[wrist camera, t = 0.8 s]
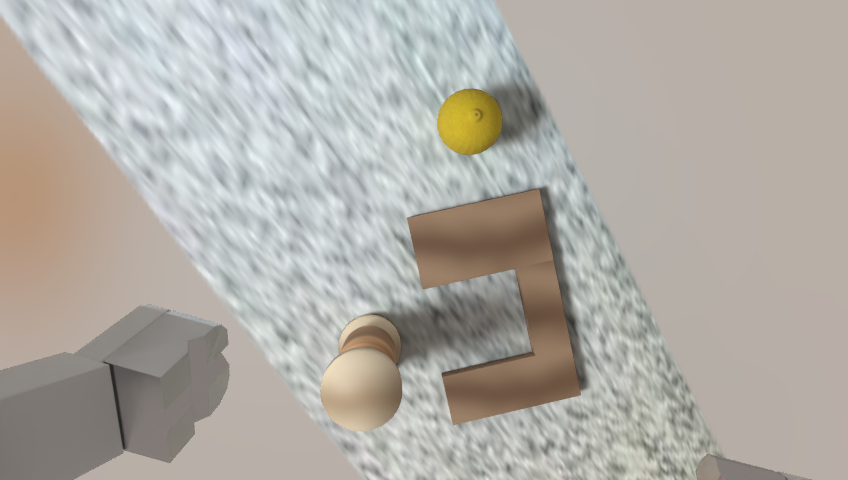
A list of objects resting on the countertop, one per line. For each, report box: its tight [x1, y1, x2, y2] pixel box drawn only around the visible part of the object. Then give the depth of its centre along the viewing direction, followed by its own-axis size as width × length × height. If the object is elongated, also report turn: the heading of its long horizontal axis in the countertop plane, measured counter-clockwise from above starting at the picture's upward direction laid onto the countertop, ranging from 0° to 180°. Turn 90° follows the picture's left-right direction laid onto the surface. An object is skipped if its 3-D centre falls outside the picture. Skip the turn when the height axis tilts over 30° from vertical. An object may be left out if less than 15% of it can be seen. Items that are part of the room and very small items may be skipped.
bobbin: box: [320, 314, 402, 431], centre depth 46 cm, size 6×6×13 cm
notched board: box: [407, 189, 581, 425], centre depth 52 cm, size 20×12×1 cm, turn 12°
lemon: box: [438, 89, 502, 155], centre depth 48 cm, size 6×6×8 cm
